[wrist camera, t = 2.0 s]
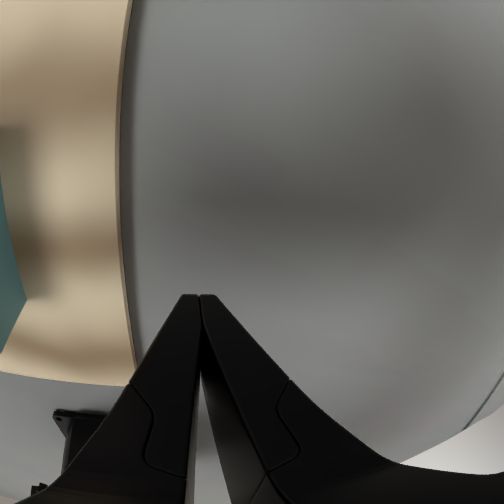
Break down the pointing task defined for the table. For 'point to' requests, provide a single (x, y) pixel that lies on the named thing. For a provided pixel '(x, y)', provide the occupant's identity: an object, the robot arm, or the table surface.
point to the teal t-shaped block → (8, 280)
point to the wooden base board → (65, 187)
